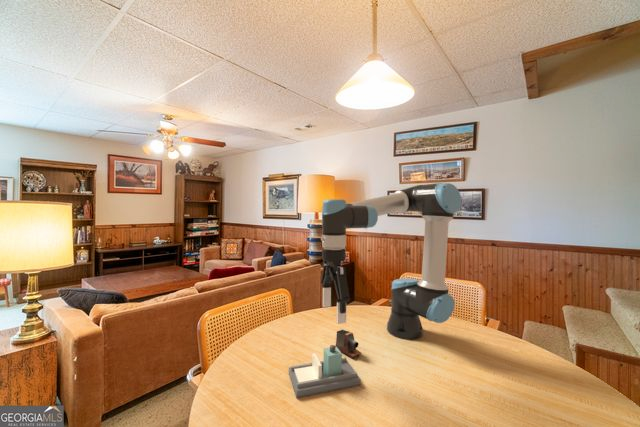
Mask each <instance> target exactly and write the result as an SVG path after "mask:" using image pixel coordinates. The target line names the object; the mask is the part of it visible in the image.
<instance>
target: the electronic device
mask: <svg viewBox="0 0 640 427" xmlns="http://www.w3.org/2000/svg"><path fill="white" fill-rule="evenodd" d="M335 337H336V339H335V340H336V341H335V345H334V346H335V347H337V348H338V349H339V351H340V352H341V353H343V354H345V355H347V356H348V357H350V358H351V359H355V358H357V357H359V356H360V355H361V354H362V352H361V351H359V349H357V348H358V347H359V342H358V341H356V340H355V336H354V333H353V332H352V331H349V330H344V329H340V330H337V331H336V336H335Z"/></svg>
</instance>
